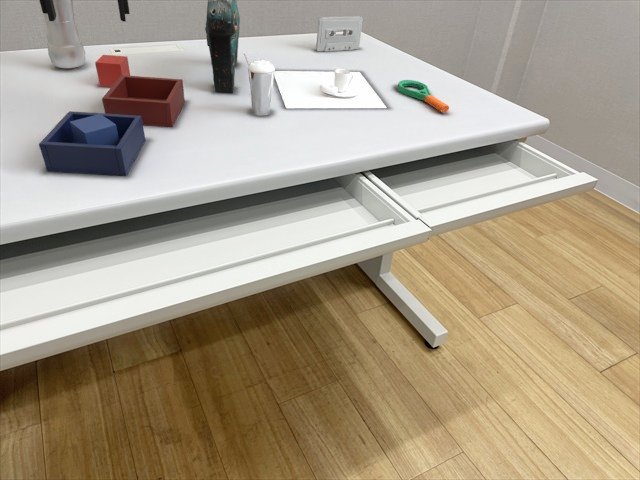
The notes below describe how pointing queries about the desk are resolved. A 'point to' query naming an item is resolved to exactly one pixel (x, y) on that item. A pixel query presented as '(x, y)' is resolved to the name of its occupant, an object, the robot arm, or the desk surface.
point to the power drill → (223, 42)
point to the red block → (111, 69)
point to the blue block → (95, 131)
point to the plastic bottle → (63, 36)
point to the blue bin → (93, 147)
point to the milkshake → (261, 86)
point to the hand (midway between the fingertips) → (88, 19)
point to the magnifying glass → (422, 94)
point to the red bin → (146, 99)
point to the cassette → (338, 41)
